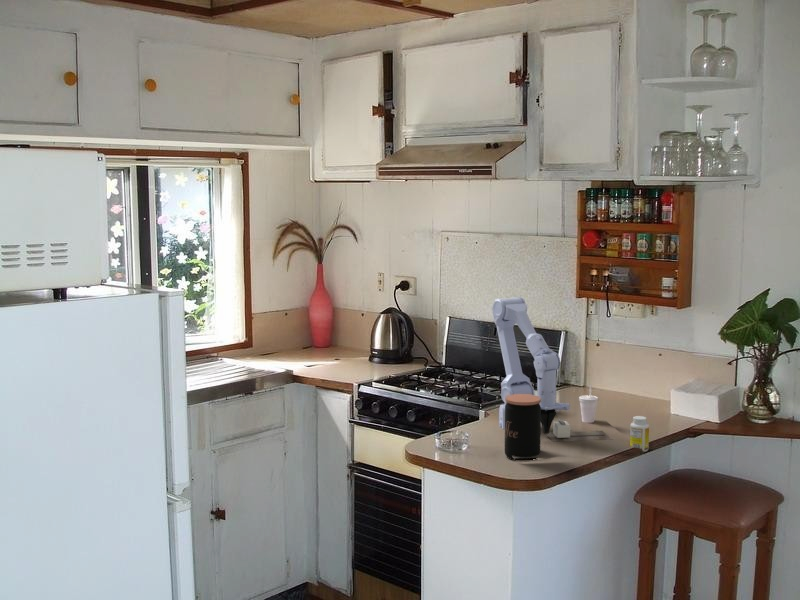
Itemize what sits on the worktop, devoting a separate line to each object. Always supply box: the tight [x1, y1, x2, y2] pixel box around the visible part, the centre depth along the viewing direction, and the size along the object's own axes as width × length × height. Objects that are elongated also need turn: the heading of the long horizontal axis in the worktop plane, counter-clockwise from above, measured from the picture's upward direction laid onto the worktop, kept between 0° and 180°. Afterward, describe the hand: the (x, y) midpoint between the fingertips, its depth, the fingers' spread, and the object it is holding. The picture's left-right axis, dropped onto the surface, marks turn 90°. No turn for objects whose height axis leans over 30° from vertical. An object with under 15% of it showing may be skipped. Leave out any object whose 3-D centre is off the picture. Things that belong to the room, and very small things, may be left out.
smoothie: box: [578, 384, 599, 424], centre depth 308 cm, size 6×6×14 cm
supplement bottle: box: [629, 415, 650, 453], centre depth 280 cm, size 6×6×10 cm
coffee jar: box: [504, 394, 542, 461], centre depth 274 cm, size 11×11×18 cm
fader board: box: [546, 430, 613, 443], centre depth 291 cm, size 19×10×2 cm, turn 96°
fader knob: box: [552, 418, 571, 438], centre depth 290 cm, size 4×5×5 cm
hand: (545, 432), depth 290 cm, fingers closed
